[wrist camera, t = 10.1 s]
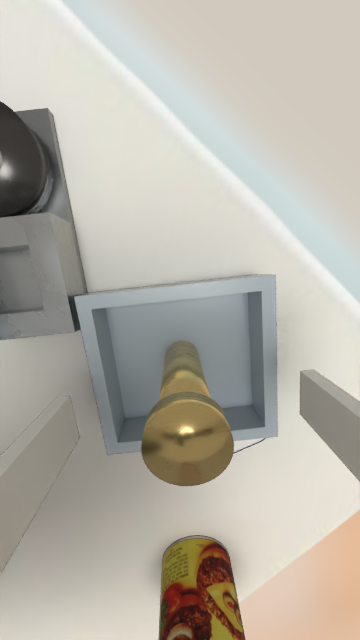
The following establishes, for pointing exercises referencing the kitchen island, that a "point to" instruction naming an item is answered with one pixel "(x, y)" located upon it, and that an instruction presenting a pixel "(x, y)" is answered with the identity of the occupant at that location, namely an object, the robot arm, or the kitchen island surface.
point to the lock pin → (186, 424)
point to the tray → (192, 326)
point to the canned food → (198, 592)
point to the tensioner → (35, 230)
